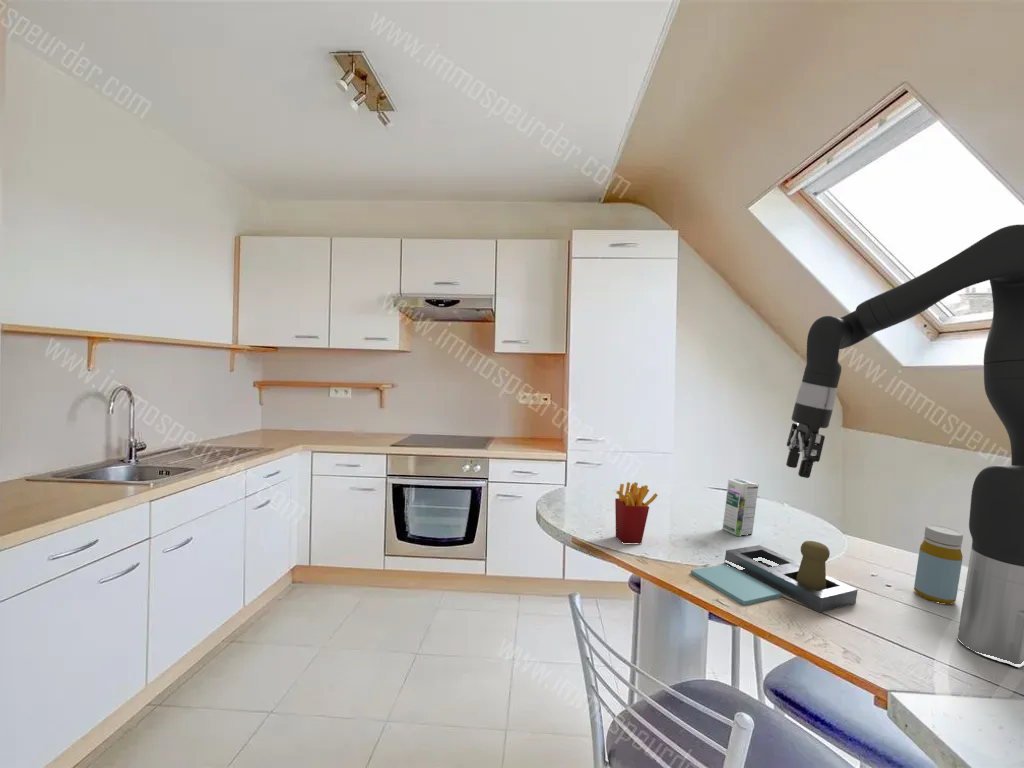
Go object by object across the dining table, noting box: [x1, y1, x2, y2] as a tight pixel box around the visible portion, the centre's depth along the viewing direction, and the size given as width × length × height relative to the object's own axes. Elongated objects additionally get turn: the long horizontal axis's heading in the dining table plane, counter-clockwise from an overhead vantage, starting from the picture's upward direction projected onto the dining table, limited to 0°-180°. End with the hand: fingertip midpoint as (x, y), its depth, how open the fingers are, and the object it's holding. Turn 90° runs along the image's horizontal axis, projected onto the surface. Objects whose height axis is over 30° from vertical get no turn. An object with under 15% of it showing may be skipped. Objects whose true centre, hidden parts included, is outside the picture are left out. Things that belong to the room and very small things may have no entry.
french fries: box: [614, 481, 659, 544], centre depth 129 cm, size 9×8×15 cm
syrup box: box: [722, 478, 759, 537], centre depth 140 cm, size 6×6×14 cm
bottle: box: [913, 524, 964, 605], centre depth 109 cm, size 7×7×15 cm
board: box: [690, 563, 783, 606], centre depth 108 cm, size 14×11×1 cm
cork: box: [796, 540, 831, 591], centre depth 106 cm, size 6×6×11 cm
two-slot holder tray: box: [724, 544, 858, 614], centre depth 111 cm, size 23×12×3 cm, turn 26°
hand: (797, 471), depth 118 cm, fingers open, 8 cm apart
